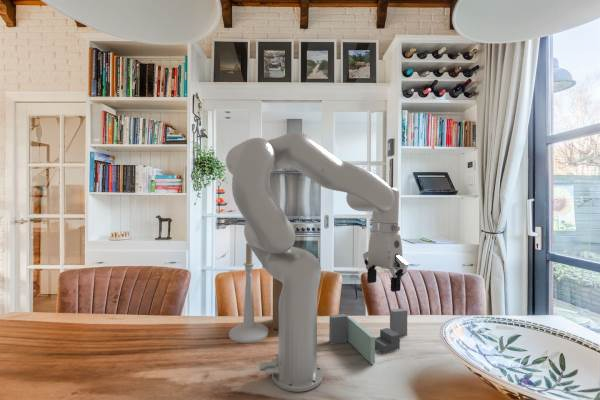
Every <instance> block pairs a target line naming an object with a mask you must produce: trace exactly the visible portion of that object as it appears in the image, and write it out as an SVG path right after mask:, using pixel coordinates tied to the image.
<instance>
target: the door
mask: <svg viewBox="0 0 600 400" xmlns="http://www.w3.org/2000/svg"><path fill="white" fill-rule="evenodd" d="M346 316H347V342H348V343H350V345H352V346H353V347H354V348H355V350H357V351H358V352H359V353H360V354H361V355H362V357H364V358H365V360H366V361H368V362H369V363H370V364H372V365H373V364H375V363H376V348H375V338H376V336H375V335H373V334H372V333H371V332H370V331H368V330H367V329H366V328H365V327H364V326H363V325H361V324H360V323H359V322H358V321H357V320H355V319H354V317H352V316H350V315H346Z"/></svg>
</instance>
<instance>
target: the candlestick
mask: <svg viewBox="0 0 600 400" xmlns="http://www.w3.org/2000/svg"><path fill="white" fill-rule="evenodd" d="M243 265H244V270H245V271H246V274H245V286H244V287H245V289H244V304H243V305H244V306H243V308H244V309H243V321H242V323H239V324H237V325H235V326H233V327H232V328H231V329H230V330H229V331H228V337H229V339H230V340H232V341H233V342H236V343H240V344H243V343H244V344H248V343H255V342H256V343H257V342H259V341H261V340H264V339H265V338H267V337H268V335H269V328H268V327H267V326H266V325H265V324H263V323H259V322H257V321H256V322H255V312H254V311H255V310H254V309H255V308H254V290H253V289H254V287H253V284H254V283H253V274H252V272H253V269H254V265H255V263H254V262H253V251H252V249H251V248H250V246H249V245H248V243H247V242H246V243H245V263H243Z"/></svg>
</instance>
